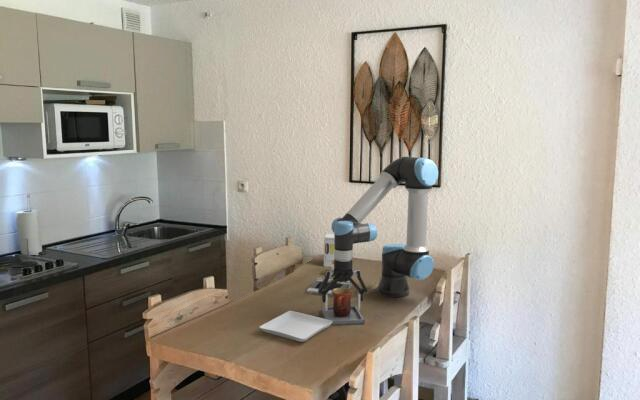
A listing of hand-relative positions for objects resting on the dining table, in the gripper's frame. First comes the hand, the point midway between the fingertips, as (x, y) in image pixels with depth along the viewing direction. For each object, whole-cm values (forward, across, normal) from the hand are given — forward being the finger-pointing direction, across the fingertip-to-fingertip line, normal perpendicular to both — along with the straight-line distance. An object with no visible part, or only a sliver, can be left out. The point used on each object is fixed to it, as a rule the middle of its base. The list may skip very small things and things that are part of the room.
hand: (342, 309), depth 226 cm
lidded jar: (+4, -10, -61) cm, 62 cm away
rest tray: (+4, 0, 0) cm, 4 cm away
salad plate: (+4, +20, +12) cm, 24 cm away
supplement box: (+4, -9, -81) cm, 82 cm away
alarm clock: (+4, 0, -36) cm, 36 cm away
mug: (+3, 0, 0) cm, 3 cm away
